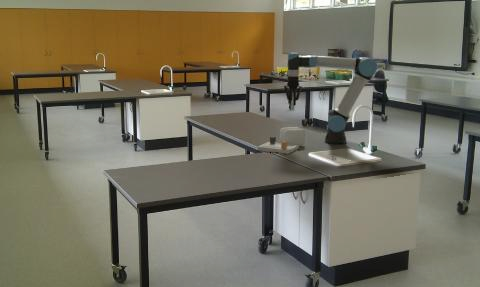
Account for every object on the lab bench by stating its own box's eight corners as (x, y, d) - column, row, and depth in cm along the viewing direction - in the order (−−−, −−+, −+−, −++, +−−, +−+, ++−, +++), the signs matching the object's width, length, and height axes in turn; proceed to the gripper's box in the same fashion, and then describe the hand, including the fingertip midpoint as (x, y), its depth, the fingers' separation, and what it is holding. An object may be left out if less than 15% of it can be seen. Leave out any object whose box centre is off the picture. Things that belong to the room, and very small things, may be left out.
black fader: (275, 142, 360) (275, 136, 359) (273, 143, 358) (273, 137, 357) (271, 142, 362) (271, 136, 361) (269, 142, 359) (269, 137, 358)
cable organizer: (284, 147, 361) (284, 130, 358) (279, 143, 371) (279, 127, 368) (304, 146, 364) (305, 129, 362) (299, 142, 374) (300, 126, 372)
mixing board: (298, 149, 355) (298, 145, 354) (288, 154, 340) (288, 150, 339) (268, 145, 365) (268, 141, 364) (257, 150, 350) (257, 146, 350)
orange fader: (287, 147, 345) (287, 141, 344) (285, 148, 342) (285, 142, 341) (283, 147, 346) (283, 141, 345) (281, 148, 343) (281, 142, 342)
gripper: (282, 76, 360) (281, 110, 365) (300, 76, 354) (299, 111, 359) (286, 75, 366) (285, 108, 371) (304, 75, 361) (303, 110, 366)
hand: (292, 110), depth 365 cm, fingers closed
